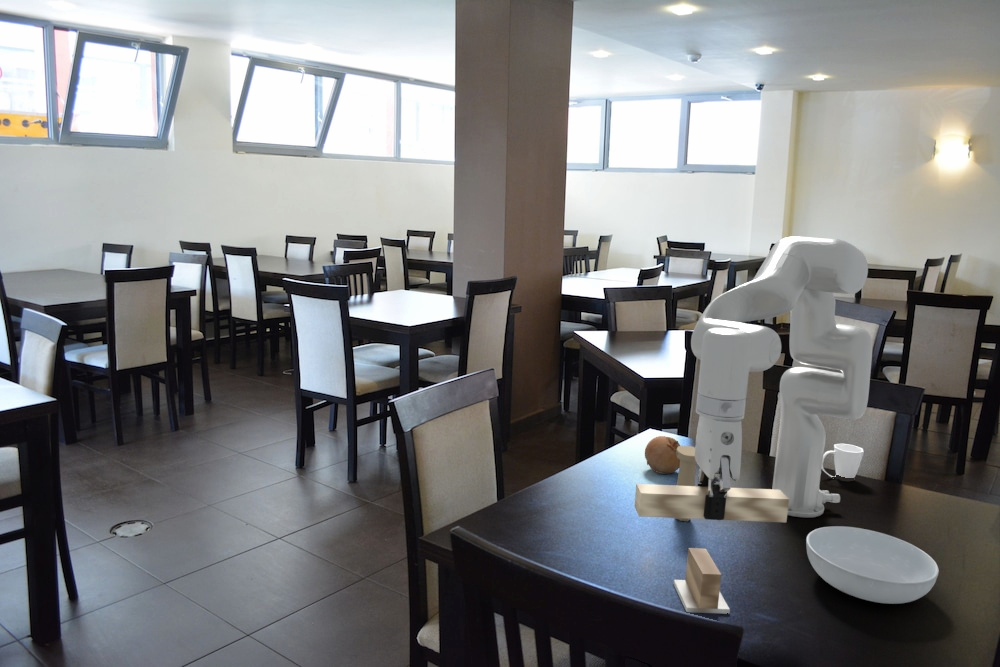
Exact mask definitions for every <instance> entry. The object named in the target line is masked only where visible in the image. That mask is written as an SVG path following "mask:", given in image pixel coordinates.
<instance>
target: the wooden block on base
mask: <svg viewBox="0 0 1000 667" xmlns="http://www.w3.org/2000/svg"><path fill="white" fill-rule="evenodd" d="M721 580H722V573H721V572H720V570H719V568H718V566H717V565H716V563H715V562H714V560H713V558H712V557H711V555H710V553H709V552H708V550H707V548H703V547H702V548H701V547H700V548H699V547H698V548H697V547H695V548H694V547H688V549H687V557H686V569H685V579H673V586H674V588H675V590H676V593H677V594H678V598H679V599H680V602H681V603H682V605H683V607H684V610H685V612H686V613H697V614H698V613H699V614H700V613H701V614H702V613H703V614H724V615H727V613H728V615H729V614H730V612H731V608H730V607H729V606H728V604H727V601H726V600H725V599H724V596H723V594H722V593H721V591H720V590H721Z"/></svg>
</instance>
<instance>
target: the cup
mask: <svg viewBox="0 0 1000 667" xmlns="http://www.w3.org/2000/svg"><path fill="white" fill-rule="evenodd" d="M864 453H865V452H864V448H863V447H860V446H856V445H854V444H848V443H842V442H841V443H835V444H833V450H827V451H824V454H823V461H822V469H821V471H822V472H824V473H825V474H826V475H828V477H830V478H832V477H834V476H833V475H831V474H829V473H828V472H827V471H826V469H825V468H824V461H825V458H826V457H827V455H829V454H831V455H832V454H833V457H834V459H833V460H834V470H835V475H839V476H841V477H845V478H855V477H856V475H857V473H858V471H859V468H860V465H861V462H862V459H863V456H864Z"/></svg>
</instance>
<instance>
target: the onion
mask: <svg viewBox="0 0 1000 667" xmlns="http://www.w3.org/2000/svg"><path fill="white" fill-rule="evenodd" d="M678 446H681V444H680V443H679V441H678V440H676V439H675V438H673V437H669V436H666V435H665V436H663V435H661V436H660V435H659V436H656V437H654V438H652V439H651V440H650V441H649V442H648V443H647V444H646V446H645V450H644V458H645V460H646V465H647V466H649V468H650V469H651V470H653V471H654V472H655V473H657V474H662V475H664V474H665V475H666V474H667V475H669V474H673V473H675V472H676V471H677V470H678V471H679V467H680V459H678V458H677V455H676V451H677V447H678Z"/></svg>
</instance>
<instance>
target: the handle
mask: <svg viewBox="0 0 1000 667" xmlns="http://www.w3.org/2000/svg"><path fill="white" fill-rule="evenodd" d="M676 455H677V458H678V459H680V467H679V469H678V474H677V475H678V476H677V480H676V481H677V482H676V486H696V470H697V469H696V468H697V462H696V460H695V446H691V445H680V446H678V447H677V451H676ZM675 519H677V520H678V521H680V522H688V521H689V520H690V519H687V518H675Z"/></svg>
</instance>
